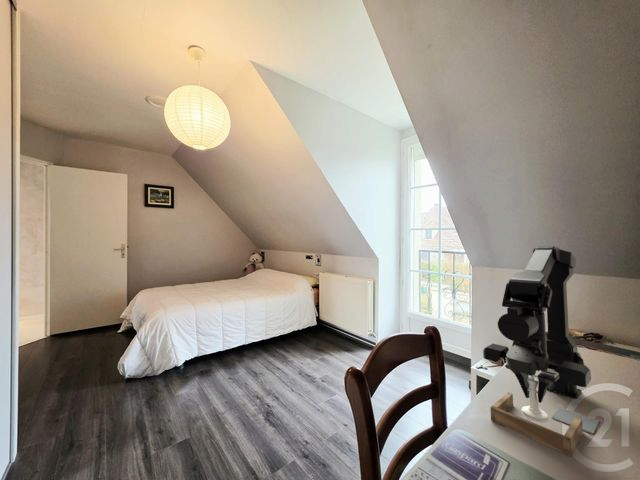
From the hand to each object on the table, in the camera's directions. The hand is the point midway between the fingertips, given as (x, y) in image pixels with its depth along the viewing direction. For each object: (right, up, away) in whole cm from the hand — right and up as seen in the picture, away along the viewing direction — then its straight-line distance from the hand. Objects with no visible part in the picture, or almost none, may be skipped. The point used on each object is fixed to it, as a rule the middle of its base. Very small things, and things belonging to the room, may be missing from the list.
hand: (533, 399), depth 60 cm
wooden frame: (0, -6, 0) cm, 6 cm away
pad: (+11, -6, +1) cm, 12 cm away
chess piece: (0, -4, 0) cm, 4 cm away
